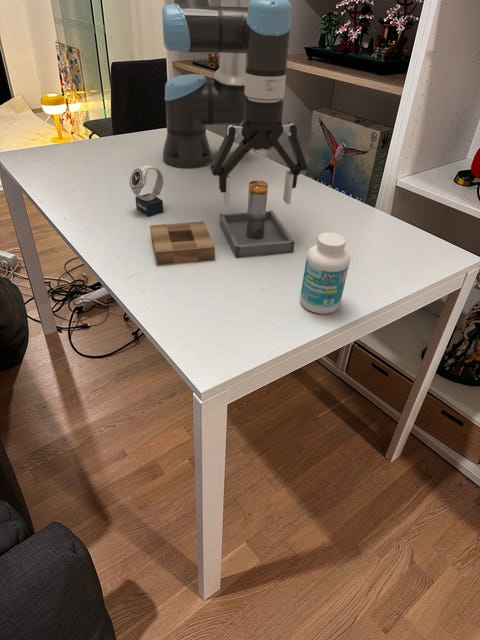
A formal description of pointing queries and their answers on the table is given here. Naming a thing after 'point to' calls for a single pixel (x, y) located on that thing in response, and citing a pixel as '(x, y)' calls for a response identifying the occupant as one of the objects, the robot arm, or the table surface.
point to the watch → (149, 202)
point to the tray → (243, 246)
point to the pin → (256, 209)
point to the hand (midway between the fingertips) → (257, 204)
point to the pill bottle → (325, 274)
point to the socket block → (182, 243)
